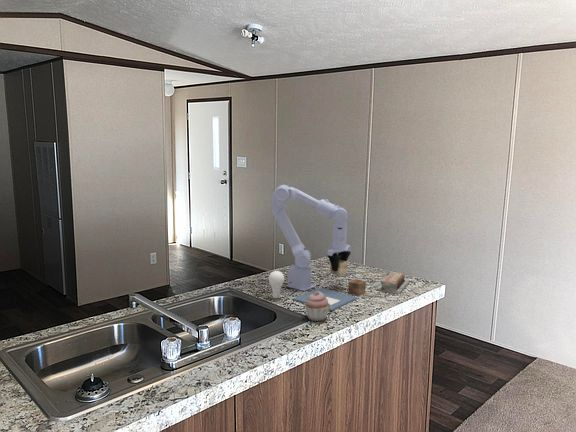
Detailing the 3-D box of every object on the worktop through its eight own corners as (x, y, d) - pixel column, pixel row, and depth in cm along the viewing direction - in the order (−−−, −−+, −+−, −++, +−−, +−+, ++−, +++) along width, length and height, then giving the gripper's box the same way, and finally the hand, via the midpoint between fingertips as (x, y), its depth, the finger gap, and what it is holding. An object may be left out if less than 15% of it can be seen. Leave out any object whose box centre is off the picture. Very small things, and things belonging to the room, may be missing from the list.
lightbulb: (274, 294, 191) (275, 268, 189) (287, 298, 187) (287, 270, 186) (265, 298, 186) (265, 271, 184) (277, 302, 182) (278, 274, 181)
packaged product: (400, 283, 194) (376, 280, 198) (400, 295, 194) (376, 291, 199) (410, 272, 210) (388, 269, 214) (409, 283, 210) (387, 280, 215)
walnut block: (348, 293, 194) (348, 281, 194) (354, 290, 198) (355, 278, 197) (358, 296, 191) (359, 284, 190) (365, 293, 195) (365, 281, 194)
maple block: (330, 273, 198) (330, 261, 197) (336, 270, 202) (337, 259, 201) (340, 275, 195) (340, 263, 194) (346, 272, 199) (347, 261, 198)
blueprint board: (293, 300, 185) (293, 298, 185) (320, 289, 199) (320, 287, 199) (331, 311, 174) (331, 309, 174) (357, 298, 188) (357, 297, 187)
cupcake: (298, 318, 167) (298, 290, 165) (314, 311, 174) (315, 284, 172) (319, 325, 161) (320, 297, 159) (335, 317, 167) (336, 290, 166)
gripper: (338, 241, 188) (336, 275, 190) (357, 236, 199) (355, 267, 201) (323, 239, 192) (322, 271, 194) (342, 233, 203) (341, 264, 206)
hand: (338, 269), depth 198 cm, fingers closed on maple block, 5 cm apart
